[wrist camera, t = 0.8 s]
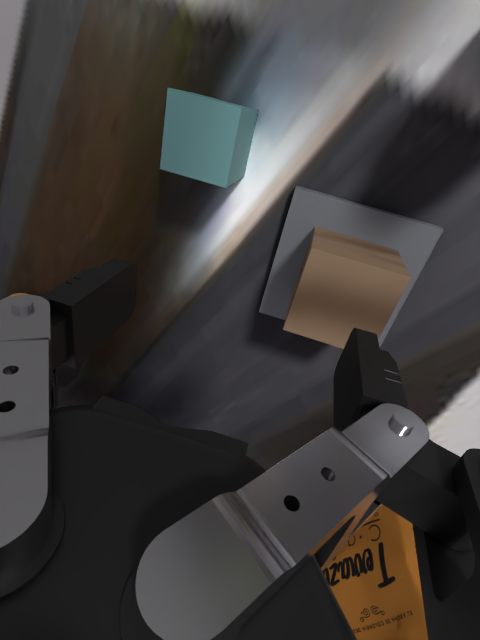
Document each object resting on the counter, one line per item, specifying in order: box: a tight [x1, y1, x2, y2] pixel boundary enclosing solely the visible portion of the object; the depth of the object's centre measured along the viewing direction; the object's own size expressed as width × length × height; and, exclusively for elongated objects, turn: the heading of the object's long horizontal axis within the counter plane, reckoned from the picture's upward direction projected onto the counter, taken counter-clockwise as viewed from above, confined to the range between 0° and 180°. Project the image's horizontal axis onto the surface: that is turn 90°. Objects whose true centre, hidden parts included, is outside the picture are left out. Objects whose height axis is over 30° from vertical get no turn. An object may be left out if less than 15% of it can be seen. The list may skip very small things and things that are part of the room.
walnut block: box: [283, 226, 411, 349], centre depth 29 cm, size 7×7×6 cm
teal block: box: [160, 88, 258, 188], centre depth 26 cm, size 5×5×6 cm
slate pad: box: [259, 186, 444, 347], centre depth 32 cm, size 12×12×1 cm
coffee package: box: [322, 505, 428, 640], centre depth 33 cm, size 10×12×22 cm
